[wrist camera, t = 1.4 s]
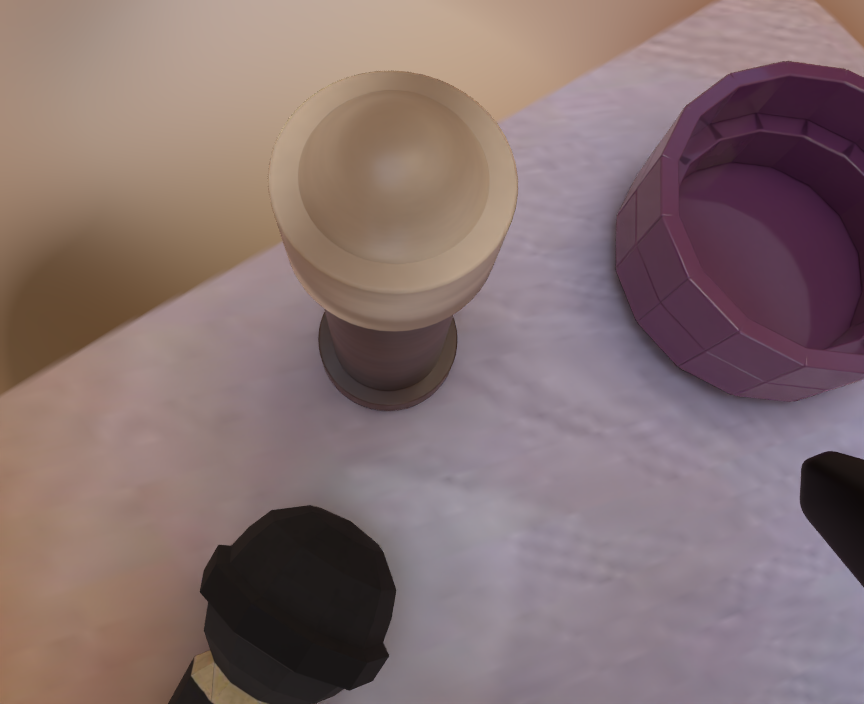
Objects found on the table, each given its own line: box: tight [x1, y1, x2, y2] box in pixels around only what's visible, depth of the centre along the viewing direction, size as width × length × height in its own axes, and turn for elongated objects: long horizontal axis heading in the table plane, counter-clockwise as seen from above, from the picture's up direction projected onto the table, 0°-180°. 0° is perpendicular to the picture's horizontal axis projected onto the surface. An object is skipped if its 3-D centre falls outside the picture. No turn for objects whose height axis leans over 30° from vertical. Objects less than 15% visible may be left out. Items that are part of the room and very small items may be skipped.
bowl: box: [616, 61, 864, 402], centre depth 23 cm, size 11×11×5 cm
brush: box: [268, 71, 518, 411], centre depth 18 cm, size 5×5×13 cm
